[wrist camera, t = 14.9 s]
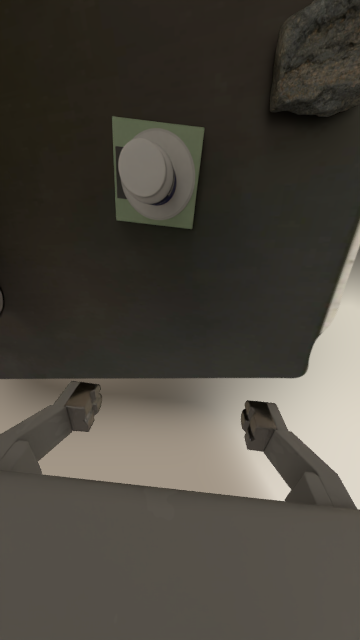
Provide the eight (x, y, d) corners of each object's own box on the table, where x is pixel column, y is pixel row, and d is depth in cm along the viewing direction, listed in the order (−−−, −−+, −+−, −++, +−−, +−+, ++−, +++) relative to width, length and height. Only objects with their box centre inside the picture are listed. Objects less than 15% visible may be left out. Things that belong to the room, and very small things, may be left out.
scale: (120, 219, 33) (114, 220, 31) (117, 123, 28) (110, 114, 25) (192, 228, 33) (192, 229, 31) (203, 134, 28) (204, 125, 25)
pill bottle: (135, 201, 29) (111, 196, 21) (138, 153, 27) (112, 122, 18) (173, 209, 30) (166, 207, 21) (180, 162, 27) (175, 136, 18)
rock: (246, 110, 27) (254, 94, 23) (295, -13, 21) (318, -63, 17) (324, 151, 28) (346, 144, 24) (388, 46, 23) (430, 13, 19)
